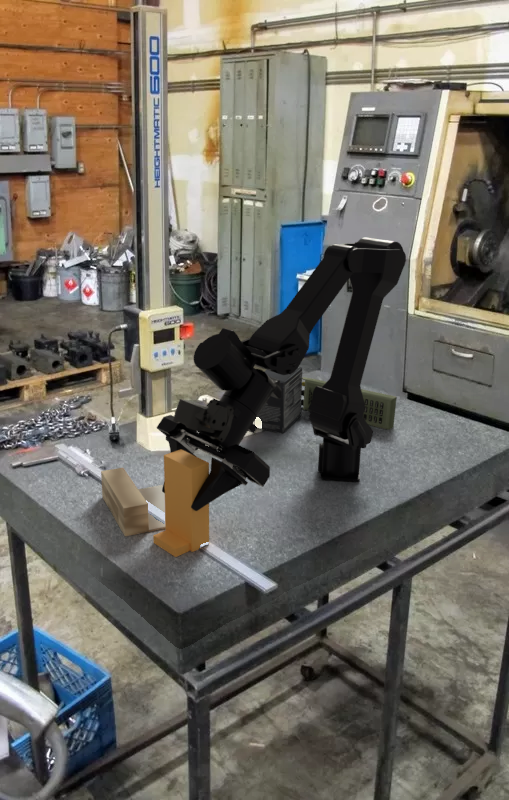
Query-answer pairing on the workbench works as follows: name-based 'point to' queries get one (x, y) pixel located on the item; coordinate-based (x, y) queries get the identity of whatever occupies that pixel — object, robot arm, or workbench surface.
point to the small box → (283, 403)
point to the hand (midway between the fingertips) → (178, 501)
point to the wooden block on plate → (131, 502)
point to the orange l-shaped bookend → (183, 504)
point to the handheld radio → (376, 404)
